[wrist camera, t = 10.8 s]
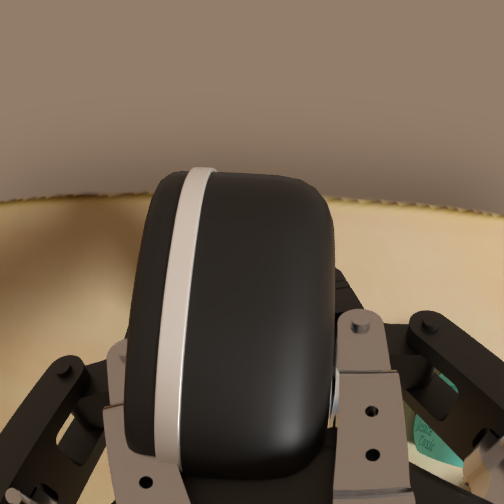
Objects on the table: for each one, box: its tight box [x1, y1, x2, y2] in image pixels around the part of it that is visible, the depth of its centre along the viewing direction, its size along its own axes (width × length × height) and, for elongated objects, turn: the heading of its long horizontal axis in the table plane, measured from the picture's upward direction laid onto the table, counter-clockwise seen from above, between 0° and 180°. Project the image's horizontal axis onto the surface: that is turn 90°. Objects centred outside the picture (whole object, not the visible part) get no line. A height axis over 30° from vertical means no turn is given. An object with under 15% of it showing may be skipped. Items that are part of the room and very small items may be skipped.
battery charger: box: [123, 167, 335, 480], centre depth 10 cm, size 7×4×11 cm, turn 176°
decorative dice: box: [413, 373, 464, 468], centre depth 19 cm, size 8×8×8 cm
